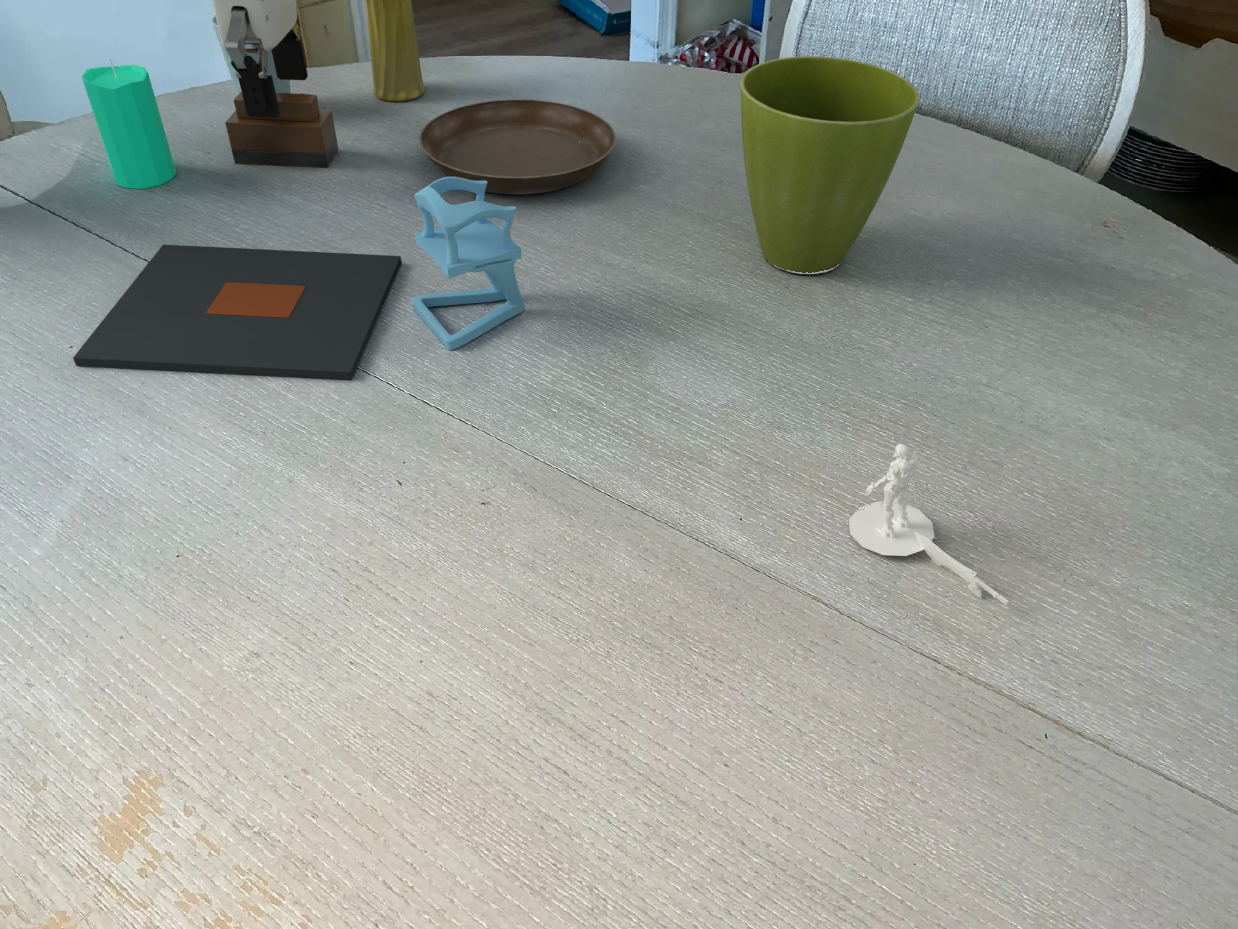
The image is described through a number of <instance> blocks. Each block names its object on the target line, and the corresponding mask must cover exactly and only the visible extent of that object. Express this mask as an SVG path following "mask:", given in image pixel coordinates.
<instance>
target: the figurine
mask: <svg viewBox="0 0 1238 929" xmlns="http://www.w3.org/2000/svg"><path fill="white" fill-rule="evenodd" d="M894 451H895V452H894V454H893V456H892V458H896V459H895V460H892V461H891V462H890V464H889V468H888V469H889V470H888V472H886V475H883V477H882V478H881V479H878V480H877V481H876V482H875V481H871V482H870V485H867V486H866V489H865V490H863V494H864V496H865V497H869V496H870V495H871V494H872V493H873V492H874V490H877V489H878V487H880V486H884V487H883V494H884V497H883V500H881V501H874V502H871V503H868V504H866V505H863V506H860V507H858V508H857V509H858V510H860V509H864V510H860V511H858V510H857V509H856V510H855V511H854V513H852V515H851V516H850V517H849V518H848V526H849V527H848V528H849V534H850V536H852V538H853V539H854V540H855V541H856V542H857V543H858V544H859V546H861V548H864V549H867V550H869V551H872V552H874V553H875V554H876V553H877V554H879V555H880V556H892V557H893V556H896V557H907V556H910V555H913V554H916V553H918V552H921V551H925V553H926V554H927V555H928V556H929V557H930V558H931V560H932V561H933V563H935V564H936V565H937V566H938V567H942V566H943V567H945V568H946V569H948V570H950V571H951V572H953V573H955V574H956V575H958V576H959V577H960V578H961V579H963V580H964V582H965V583H966V585H967V586H968V589H969V591H970V592H971V593H972V594H973V595H975V596H976V597H978V598H979V599H982V590H981V589H980V587H981V588H982V589H983V590H985V591H986V592H987V593H989V594H990V595H992V597H993V598H994V599H997V600H998V601H1000V602H1001V604H1003V605H1004V606H1006V607H1007V606H1009V604H1010V601H1009V600H1008V599H1007V598H1006V597H1004V596H1003V595H1002V594H1000V592H998V591H996V590H994V589H993V588H992V587H991V586H989V585H988V584H987V583H986V582H984V581H982V580H981V579H980V578H979V577H978V576H977V574H978V572H977V571H974V570H973V569H972V568H969V567H967V566H966V565H964V564H963V563H961V562H959V561H958V560H957V559H955V558H953V557H952V556H951V555H950V554H948V553H947V552H945V551H944V550H943V549H942V548H940V547H939V546H938V545H937V544H935V542H934V541H933V540H934V538H935V531H934V526H933V525H934V524H933V521H931V520H930V518H929V517H927V515H925V514H924V513H923V512H922V511H921V510H920V509H919V508H915V507H913V506H910V505H908V504H907V502H906V501H905V500H904V499H905V497H904V496H905V494H906V493H907V492H908V491H909V490H910V484H909V481H910V482H912V481H913V479H914V478H913V476H914V475H915V473H916V471H917V470H918V468H919V462H920V460H919V457H918V454H916V453H917V451H915V450H914V451H913V452H912V453H911V455H910V448H909V446H908V445H906V444H904V443H898V444H897V445H895V450H894ZM908 476H909V477H908ZM869 504H871V505H869ZM867 505H868V506H867ZM864 507H865V508H864ZM856 511H857V512H856Z"/></svg>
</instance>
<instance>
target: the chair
mask: <svg viewBox="0 0 1238 929" xmlns="http://www.w3.org/2000/svg"><path fill="white" fill-rule="evenodd" d="M486 186H487V181H474V180H468V179H464V178H459V177H449V176H445V177H441V178H439V179H436V180H434V181H433V182H431V183H430V184H428V185H426V186H425V187H423V188H422V189H421V190H419V191H417V192H416V193H414V194H413V197H414V198H415V202H416V205H417V208H418V210H419V212H420V215H421V217H422V222H423V229H422V231H419V232H415V233H414V235H415V236H414V237H415V243H416V244H417V246H418V247H419V248H420V249H421V250H422V251H423V252H425V253H426V254H427V255H428V256H429V257H430V258H431V259H432V260H433V261H434V262H435V264H436V266H437V267H438V268H439V269H440V271H441V272H442V273H443V274H444V275H445V276H446V277H447V278H448V279H450V278H454V277H455V278H456V277H459V276H461V275H465V274H468V273H481V272H482V273H484V274H485V276H486V277H487V279H488V281H489V282H490V285H492V287H485V288H477V289H467V290H456V291H445V292H436V293H427V294H421V295H417V296H413V297H412V298H411V303H412V308H413V310H414V311H415V313H416V314H417V315H418V316H419V318H421V320H422V321H423V322H424V323H425V324H426V325H427V327H428V328H429V329H430V330H431V331H432V333H433V334H434V335H435V336H436V337H437V339H439V341H440V342H441V343H442V344H443V346H444V347H445V348H446V349H447V350H448V351H452V350H453V351H454V350H457V349H458V348H460V347H462V346H465V345H466V344H468V343H469V342H472V341H473V340H475V339H477V338H478V337H480V336H482V335H484V334H485V333H487V332H489V331H490V330H492V329H493V328H495V327H497V326H499V325H500V324H502V323H505V321H507V320H509V319H511V318H513V317H515V316H517V315H519V314H521V313H523V312H525V310H526V306H525V302H524V298H523V296H522V293H521V290H520V287H519V285H518V281H517V278H516V272H515V265H516V262H517V261H518V260H519V259H522V258H523V256H522V255H523V254H522V253H523V252H522V247H520V245H519V244H517V242H515V240H513V239H512V236H511V227H512V224H513V221H514V217H515V214H516V211H517V207H516V205H515V206H514V205H510V206H505V205H500V204H495V203H492V202H488V201H485V192H486V191H485V189H486ZM454 190H455V191H456V190H459V191H465V192H466V191H467V192H470V193H473V194H476V195H475V200H473V201H472V200H471V201H466V202H463V203H459V204H451V203H449V202H447V201H446V200H445V199H444V198H443V197H442V196H441V195H443V194H444V193H446V192H449V191H454ZM433 218H434V219H433ZM492 219H498V220H503V221H502V224H501V227H500V228H499V227H498V225H497V224H496V223H495V222H494V221H493V220H492ZM434 220H436V222H437V224H438V225H439V226H440V227H435V222H434ZM503 300H506V302H505V303H503V304H501V305H500V306H497V307H496V308H495V309H493V310H491V311H490V312H488V313H486V314H485V315H483V316H482V317H480V318H478V319H477V320H474V321H473V322H472V323H470V324H469V325H467V326H465V327H463V329H461V330H459V331H457V332H456V333H454V334H450V333H449V332H448V330H446V328H445V327H444V326H443V325H442V324H441V322H439V320H438V319H437V317H436V316H435V315H434V314H433V313H432V312H431V310H430V309H429V308H433V307H444V306H457V305H468V304H480V303H490V302H498V301H503Z"/></svg>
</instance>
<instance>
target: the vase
mask: <svg viewBox="0 0 1238 929" xmlns="http://www.w3.org/2000/svg"><path fill="white" fill-rule="evenodd" d="M364 4H365V11H366V23H367V30H368V39H369V48H370V50H369V51H370V63H371V64H370V65H371V73H372V83H373V94H374V96H375V97H376V98H378V99H380V100H382V101H387V102H393V103H394V102H395V103H396V102H397V103H398V102H407V101H412V100H416V99H418V98H420V97H421V96H423V94H425V91H426V89H425V85H424V81H423V75H422V68H421V61H420V53H419V46H418V41H417V34H416V27H415V20H414V13H413V4H412V0H364Z"/></svg>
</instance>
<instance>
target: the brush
mask: <svg viewBox="0 0 1238 929" xmlns="http://www.w3.org/2000/svg"><path fill="white" fill-rule="evenodd" d="M276 96H277V101H278V105H279V110H280V114H279V115H278V117H250V116H249V115H248V114H247V112H246V108H245V104H244V100H243V95H242V91H241V92H240V93H239V94H238V95H237V94H236V96H235V98H234V99H233V104H234V108H235V110H234V111H233V112H232V114H231V115H230V116H229V117H228V118H227V120H226V121H225V122H224V124H225V128H226V132H227V137H228V140H229V145H230V150H231V153H232V158H233V161H234V164H245V165H268V166H286V167H287V166H289V167H308V168H309V167H310V168H329V166H330V165H331V163H332V161H333V160H334V159H335V157H336V156H337V153H338V152H339V145H338V138H337V133H336V127H335V126H336V125H335V121H334V120H335V119H334V114H333V110H332V109H320V107H319V106H320V105H319V100H318V96H317V94H313V93H311V94H310V93H276Z"/></svg>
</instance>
